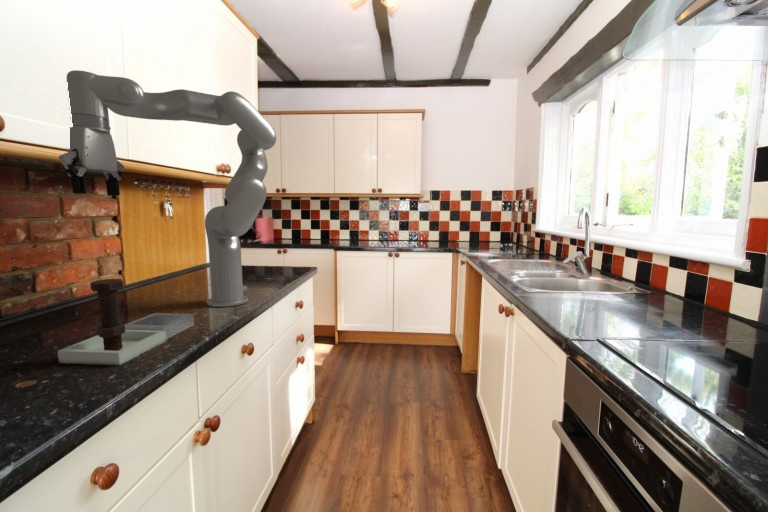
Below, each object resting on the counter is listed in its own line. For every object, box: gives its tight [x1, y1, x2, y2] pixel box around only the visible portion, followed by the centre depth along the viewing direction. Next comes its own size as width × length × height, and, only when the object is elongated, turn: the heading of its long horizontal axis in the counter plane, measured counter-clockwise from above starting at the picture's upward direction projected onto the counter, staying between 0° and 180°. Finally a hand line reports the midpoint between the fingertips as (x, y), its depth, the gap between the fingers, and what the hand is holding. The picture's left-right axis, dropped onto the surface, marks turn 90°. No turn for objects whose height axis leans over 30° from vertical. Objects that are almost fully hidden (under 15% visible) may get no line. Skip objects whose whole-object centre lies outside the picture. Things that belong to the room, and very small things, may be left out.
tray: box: [57, 330, 167, 366], centre depth 76 cm, size 13×13×2 cm
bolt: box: [89, 278, 125, 351], centre depth 75 cm, size 6×5×15 cm
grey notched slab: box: [124, 312, 195, 340], centre depth 89 cm, size 11×11×3 cm
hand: (97, 194), depth 92 cm, fingers open, 9 cm apart
